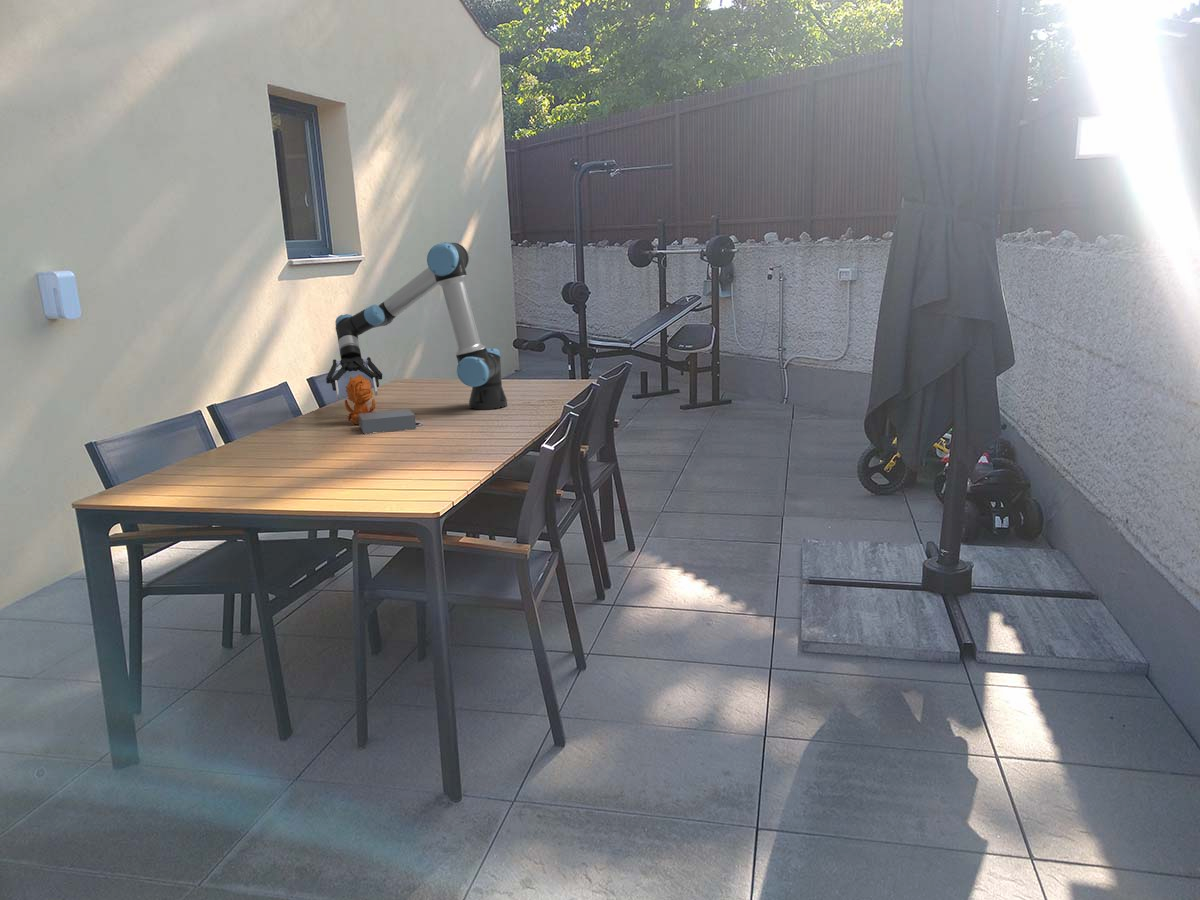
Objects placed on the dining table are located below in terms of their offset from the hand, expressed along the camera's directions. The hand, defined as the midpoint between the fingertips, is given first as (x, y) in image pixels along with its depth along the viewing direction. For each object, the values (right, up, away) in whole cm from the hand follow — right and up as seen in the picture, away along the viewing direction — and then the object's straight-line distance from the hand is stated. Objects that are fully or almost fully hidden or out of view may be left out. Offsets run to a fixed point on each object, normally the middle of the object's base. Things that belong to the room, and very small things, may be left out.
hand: (357, 395), depth 332 cm
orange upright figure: (+2, -10, +2) cm, 11 cm away
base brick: (+13, -12, -10) cm, 21 cm away
